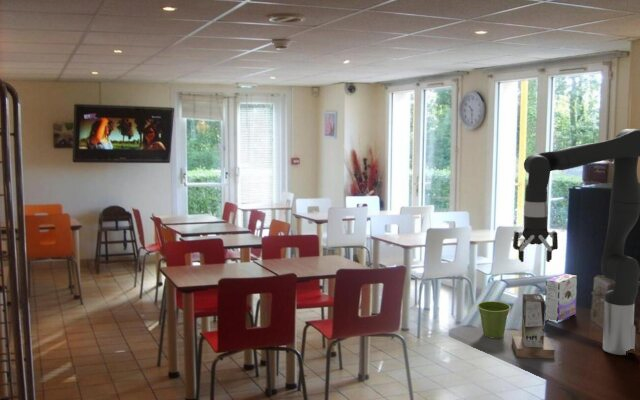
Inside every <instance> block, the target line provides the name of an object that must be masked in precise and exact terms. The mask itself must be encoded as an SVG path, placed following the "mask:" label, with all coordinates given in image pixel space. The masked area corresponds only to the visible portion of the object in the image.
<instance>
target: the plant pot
mask: <svg viewBox="0 0 640 400" xmlns="http://www.w3.org/2000/svg"><path fill="white" fill-rule="evenodd" d="M476 306H477V309H478V310H479V314H480V315H479V316H480V321H481V328H482V332H483V336H484V335H486V336H488V337H487V338H491V337H493V338H492V339H501V338H502V337H504V335H505V330H506V325H507V319H508V315H509V312H510V310H511V308H512V307H511V305H510V304H508V303H506V302H502V301H496V300H495V301H494V300H491V301H490V300H489V301H487V300H486V301H481V302H479V303H477V305H476ZM486 336H485V337H486Z"/></svg>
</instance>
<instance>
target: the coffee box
mask: <svg viewBox="0 0 640 400" xmlns="http://www.w3.org/2000/svg"><path fill="white" fill-rule="evenodd" d="M521 301H522V302H521V303H522V304H521V305H522V307H521V310H522V311H521V314H522V315H521V336H522V340H523V343H524V346H525V347H538V348H543V345H544V337H545V299H544V298H543V296H542V294H540V293H539V294H538V293H534V294H533V293H529V294H528V293H527V294H526V293H523V294H522V298H521Z"/></svg>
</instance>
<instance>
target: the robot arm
mask: <svg viewBox="0 0 640 400" xmlns="http://www.w3.org/2000/svg"><path fill="white" fill-rule="evenodd" d="M639 158H640V129H638V128H624V129H622V130H620V131H619V132H618V133H617V134H616V135H615V137H614V138H612V139H607V140H604V141H598V142H590V143H583V144H578V145H573V146H569V147H563V148H561V149H557V150H553V151H552V150H551V151H546V152H545V151H544V152H537V153H534V154H530V155H529V156H527V157H526V158H525V160H524V162H523V168H524V170H525V172H526V173H528V181H527V184H526V186H525V193H524V194H525V195H524V206H523V207H524V208H523V230H522V231H517V230H515V231H514V232H513V240H512V241H513V242H512V248H513V249H514V250H517V251H518V260H519V261H520V262H521V263H523V262H524V259H525V257H524V256H525V255H524V254H525V253H524V250H525V249H526V247H528V245H529V244H530V245H542V244H543V246H544V247H545V248H546V253H545V254H546V259H545V261H546V262H547V263H550V261H552V258H553V251H554V250H558V248H559V247H558V232H556V230H552V231H548V215H549V209H548V208H549V207H548V185H549V181H550V176H551V175H550V174H551V172H552V171H565V170H569V169H575V168H578V167H583V166H586V165H590V164H591V165H592V164H594V163H595V164H596V163H598V162H603V161H608V160H613V162H614V163H613V164H614V166H613V168H614V169H613V175H612V182H611V183H612V184H611V192H610V193H611V194H610V201H609V210H608V211H609V213H608V224H607V231H606V238H605V243H604V247H603V252H602V258H601V264H600V269H601V273H602V275H603V277H605V278H606V279H608V280H611V281H614V288H613V289H611V290H607V291H605V293H604V305H603V306H604V308H603V311H604V313H603V332H602V333H603V334H602V335H603V337H602V349H603V351H604V352H607V353H609V354H612V355H618V356H626V351H628V350H630V349H634V350H635V348H636V347H635V346H636V345H635V344H636V326H635V324H634V321H635V300H636V297H637V295H638V294H639V293H638V291H639V284H640V265H639V264H640V263H639V262H638V260H637V259H635V258H634V257H631V256H628V255H625V254H624V253H625V252H624V251H625V245H626V240H627V238H628V235H629V234H630V232H631V231H632V229H633V228H634V227H635V225H636V224H637V222H638V220H639V217H640V184H639V179H638V162H639ZM521 236H523V238H524V239H523V240H522V242H521V243H520V245H519V239H520V238H521ZM548 237H550V238H551V239H552V240H551V242H552V245H550V244H549V243H548V241H547V240H546V239H548Z"/></svg>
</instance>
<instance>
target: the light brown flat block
mask: <svg viewBox="0 0 640 400" xmlns="http://www.w3.org/2000/svg"><path fill="white" fill-rule="evenodd" d="M511 345H512V347H514V348H513V350H514V353H515V352H516V353H515V355H516V357H517V358H523V359H525V357H527V359H528V358H529V359H531V358H532V359H555V352H556V350H555V348H554V346H553V344H552V342H551V341H550V339H549V337H547V336H544V345H543V348H538V347H525V346H524V343H523V340H522V335H521V336H516V335H515V336H514V335H513V336H512V339H511Z"/></svg>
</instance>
